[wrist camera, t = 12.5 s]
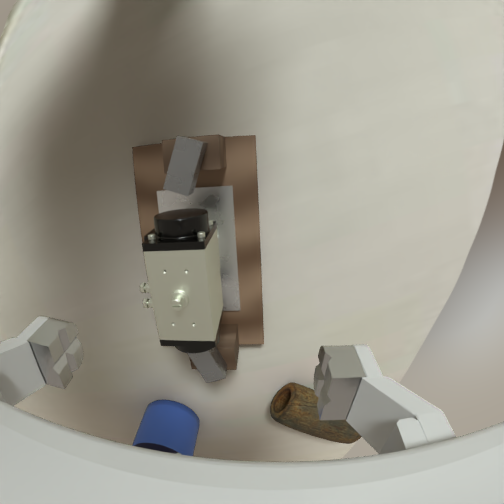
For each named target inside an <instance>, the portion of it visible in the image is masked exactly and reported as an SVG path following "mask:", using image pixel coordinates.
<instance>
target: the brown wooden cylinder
mask: <svg viewBox="0 0 504 504" xmlns="http://www.w3.org/2000/svg"><path fill="white" fill-rule="evenodd" d="M318 399H319V398H318V397H317V396H316V395H315V391H314V390H312V389H310V388H307V387H305V386H302V385H299V384H296V383H288V384H287V385H285V386H284V387H282V388H281V389H280V390H279V391H278V392H277V394H276V395H275V397H274V399H273V401H272V403H271V408H270V412H271V416H272V418H273V419H274V420H275V421H277V422H279V423H281V424H283V425H285V426H288V427H290V428H293V429H295V430H298V431H301V432H304V433H307V434H310V435H313V436H316V437H319V438H323V439H326V440H330V441H335V442H339V443H347V444H349V443H353V442H355V441H357V440H358V439H360V438H361V437H362V436H361V435H360V434H359V433H358V432H357V431H356V430H355V429H354V428H353V427H352V426H351V425H350V424H349V423H348V422H347V421H346V420H347V419H346V420H320V418H319V413H318V408H317V403H318Z"/></svg>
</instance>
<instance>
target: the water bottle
mask: <svg viewBox="0 0 504 504" xmlns="http://www.w3.org/2000/svg"><path fill="white" fill-rule="evenodd" d="M198 429H199V418H198V416H197V415H196V414H195V413H194V411H192V410H191V409H190V408H188V407H187V406H185V405H183V404H181V403H178V402H175V401H170V400H157V401H154V402H152V403H150V404H149V405H148V407H147V409H146V411H145V414H144V416H143V419H142V421H141V424H140V427H139V429H138V432H137V434H136V437H135V440H134V442H133V445H132V446H136V447H141V448H146V449H151V450H156V451H162V452H168V453H174V454H180V455H187V456H193V453H194V448H195V443H196V439H197V434H198Z"/></svg>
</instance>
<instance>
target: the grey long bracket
mask: <svg viewBox="0 0 504 504" xmlns="http://www.w3.org/2000/svg"><path fill="white" fill-rule="evenodd" d="M207 145H208V143H206V142H203V141H199V140H195V139H191V138H187V137H183V136H177V138H176V142H175V145H174V149H173V153H172V156H171V160H170V164H169V167H168V171H167V175H166V179H165V183H164V187H163V189H165V190H162V191H157V200H158V209H159V213H162V212H166V211H171V210H177V209H188V208H198V209H205V210H207V211H208V218H209V220H213V221H216V223H217V236H218V241H219V254H220V266H221V268H220V274H221V285H222V296H223V307H224V311H240V310H241V307H240V293H239V279H238V264H237V249H236V233H235V217H234V200H233V185H232V186H215V187H200V188H195V186H196V182H197V179H198V175H199V172H200V168H201V165H202V161H203V158H204V155H205V151H206V148H207ZM187 354H188V355H189V357H190V358H191V360H192V361H193V363H194V365H195V366H196V368H197V369H198V371H199V372H200V374H201V375H202V377H203V378H204V380H205V381H206V383H209V382H213V381H216V380H220V379H224V378H226V371H227V364H226V362H225V360H224V359H223V357H222V355H221V354H220V352H219V350H218V348H217V347H214V348H212V349H210V350H208V351H206V352H202V353H187Z"/></svg>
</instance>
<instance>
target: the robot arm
mask: <svg viewBox="0 0 504 504" xmlns="http://www.w3.org/2000/svg"><path fill="white" fill-rule="evenodd" d="M77 335H78V330H77V327H76V325H75V324H74V323H72V322H68V321H63V320H59V319H54V318H50V317H45V316H38V317H37V318H36V319H35V320H34V321H33V322H32V323H31V324H30V325H29V326H28V327H27V328H26V329H25V330H24V331H23V332H22V333H21V334H20V335H19V336H18V337H17V338H14V337H13V338H10V339H7V340H5V341H2V342H0V504H504V422H501V423H498V424H496V425H493V426H490V427H488V428H485V429H482V430H479V431H476V432H473V433H470V434H467V435H463V436H460V437H456V436H455V434H454V432H453V430H452V428H451V426H450V424H449V422H448V420H447V418H446V416H445V415H444V413H443V411H442V410H440V409H439V408H437V407H435V406H434V405H432V404H431V403H429V402H427V401H426V400H424V399H423V398H421V397H419V396H418V395H416V394H415V393H413V392H412V391H410V390H408V389H407V388H405V387H404V386H402V385H401V384H399V383H398V382H396V381H394V380H393V379H391V378H390V377H388V376H383V375H382V372H381V370H380V368H379V366H378V364H377V362H376V360H375V358H374V355H373V353H372V351H371V349H370V347H369V345H367V344H359V345H345V346H321V347H320V350H319V354H318V358H319V362H320V363H319V364H318V365H317V366H316V368H315V373H314V391H315V395H316V396H317V397H318V398H319V399H318V403H317V408H318V413H319V418H320V420H346V419H347V420H346V421H347V422H348V423H349V424H350V425H351V426H352V427H353V428H354V429H355V430H356V431H357V432H358V433H359V434H360V435H361V436H362V437H363V438H364V439H365V440H366V441H367V442H368V443H369V444H370V445H371V446H372V447H373V448H374V449H375V450H376V451H377V452H378V453H379V454H378V455H372V456H364V457H356V458H348V459H347V458H346V459H336V460H322V461H300V462H260V461H238V460H224V459H213V458H203V457H195V456H187V455H180V454H174V453H168V452H162V451H156V450H151V449H146V448H141V447H136V446H132V445H127V444H123V443H119V442H115V441H111V440H107V439H104V438H100V437H97V436H93V435H90V434H86V433H83V432H80V431H77V430H74V429H71V428H68V427H65V426H62V425H59V424H56V423H53V422H51V421H48V420H45V419H43V418H40V417H38V416H35V415H33V414H30V413H28V412H26V411H23V410H21V409H19V408H16V407H14V405H15V404H17V403H19V402H20V401H22V400H23V399H25V398H26V397H28V396H29V395H31V394H33V393H34V392H36V391H37V390H39V389H40V388H42V387H44V386H45V385H46V384H48V385H52V386H55V387H59V388H63V389H65V388H66V386H67V385H68V383H69V382H70V380H71V379H72V377H73V376H72V372H73V371H75V370H77V369H78V368H79V367H80V365H81V364H82V360H83V348H82V344H81V343H80V342H79V340H78V339H77Z"/></svg>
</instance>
